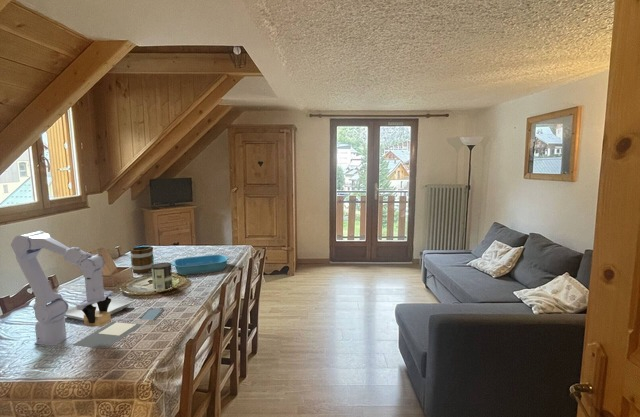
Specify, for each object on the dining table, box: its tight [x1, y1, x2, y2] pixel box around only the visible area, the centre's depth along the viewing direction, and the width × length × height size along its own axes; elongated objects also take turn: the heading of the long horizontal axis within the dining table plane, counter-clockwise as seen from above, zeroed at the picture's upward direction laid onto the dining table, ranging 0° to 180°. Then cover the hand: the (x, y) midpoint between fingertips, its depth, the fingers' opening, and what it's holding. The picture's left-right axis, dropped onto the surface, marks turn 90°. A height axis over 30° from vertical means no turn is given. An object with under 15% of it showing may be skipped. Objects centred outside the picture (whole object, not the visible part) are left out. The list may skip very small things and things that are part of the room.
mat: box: [72, 321, 143, 350], centre depth 139 cm, size 15×20×1 cm
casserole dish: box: [170, 254, 230, 276], centre depth 225 cm, size 37×22×7 cm, turn 116°
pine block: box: [83, 310, 112, 328], centre depth 133 cm, size 8×4×4 cm, turn 76°
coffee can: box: [151, 261, 173, 290], centre depth 190 cm, size 10×10×14 cm
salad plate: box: [64, 297, 133, 321], centre depth 160 cm, size 21×21×3 cm
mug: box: [129, 245, 155, 274], centre depth 226 cm, size 20×14×15 cm
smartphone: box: [139, 307, 165, 321], centre depth 157 cm, size 7×1×15 cm
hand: (97, 320), depth 133 cm, fingers closed on pine block, 4 cm apart
